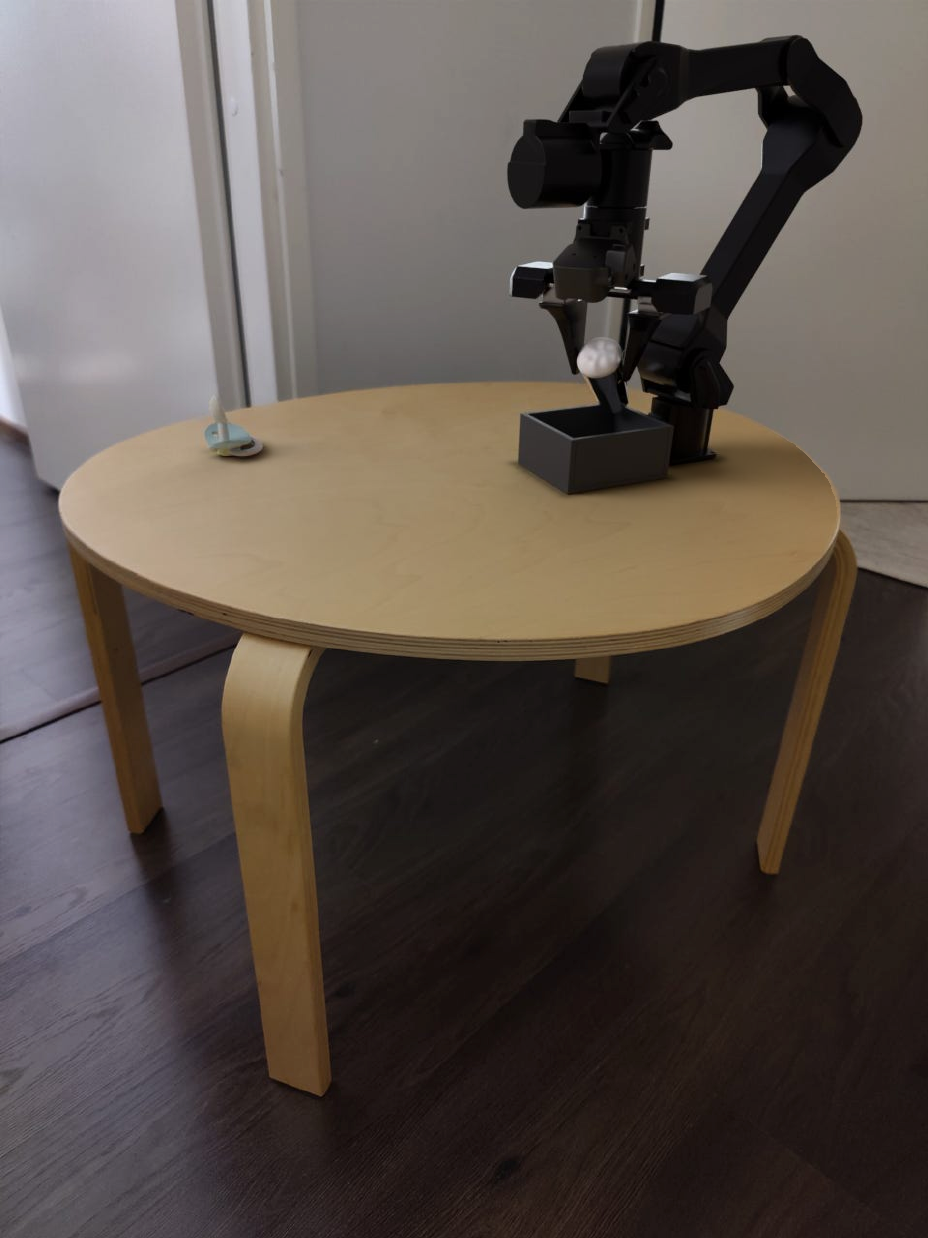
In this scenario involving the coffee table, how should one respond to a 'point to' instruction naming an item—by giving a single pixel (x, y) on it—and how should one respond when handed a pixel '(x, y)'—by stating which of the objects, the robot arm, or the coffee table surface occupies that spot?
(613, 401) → the milkshake
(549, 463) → the bin
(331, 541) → the coffee table surface
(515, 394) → the coffee table surface
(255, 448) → the pacifier
